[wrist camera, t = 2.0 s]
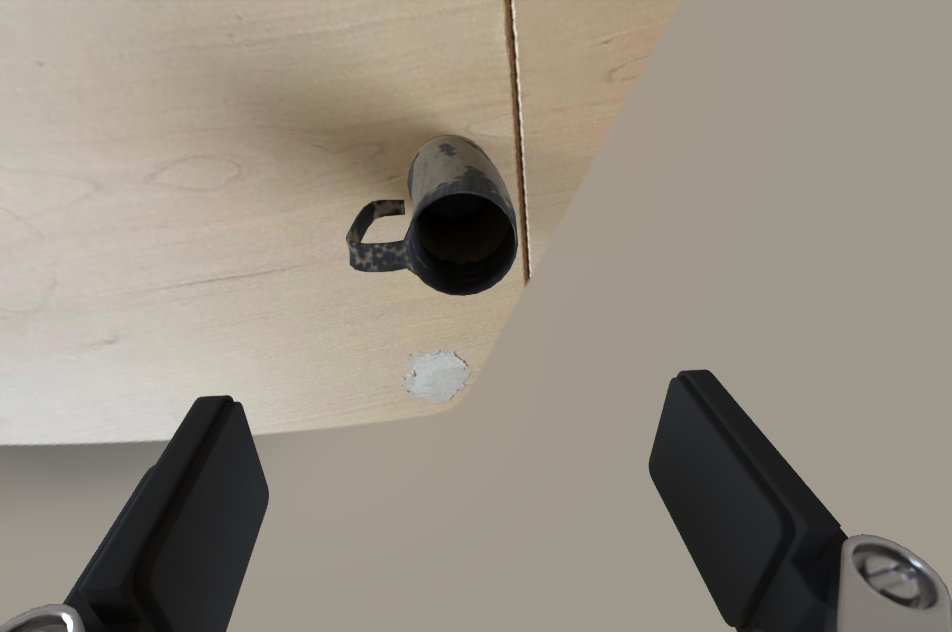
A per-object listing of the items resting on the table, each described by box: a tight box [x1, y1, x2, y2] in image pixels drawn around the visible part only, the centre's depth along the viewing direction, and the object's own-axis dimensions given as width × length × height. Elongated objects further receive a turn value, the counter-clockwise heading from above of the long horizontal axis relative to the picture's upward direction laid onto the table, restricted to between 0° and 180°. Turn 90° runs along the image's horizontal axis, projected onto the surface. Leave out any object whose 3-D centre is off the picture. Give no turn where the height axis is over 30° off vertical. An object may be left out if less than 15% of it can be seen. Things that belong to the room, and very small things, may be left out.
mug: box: [346, 135, 518, 296], centre depth 26 cm, size 8×6×12 cm
